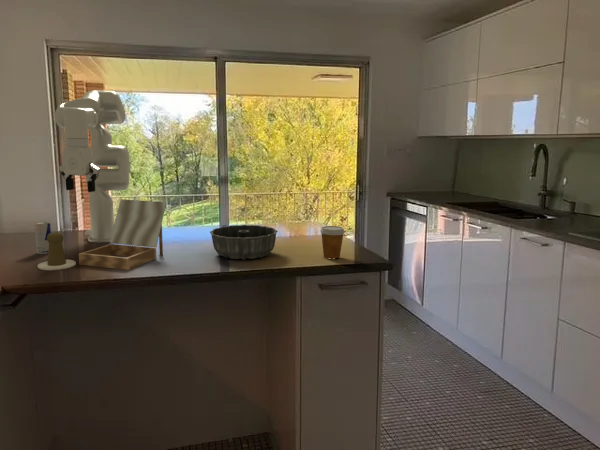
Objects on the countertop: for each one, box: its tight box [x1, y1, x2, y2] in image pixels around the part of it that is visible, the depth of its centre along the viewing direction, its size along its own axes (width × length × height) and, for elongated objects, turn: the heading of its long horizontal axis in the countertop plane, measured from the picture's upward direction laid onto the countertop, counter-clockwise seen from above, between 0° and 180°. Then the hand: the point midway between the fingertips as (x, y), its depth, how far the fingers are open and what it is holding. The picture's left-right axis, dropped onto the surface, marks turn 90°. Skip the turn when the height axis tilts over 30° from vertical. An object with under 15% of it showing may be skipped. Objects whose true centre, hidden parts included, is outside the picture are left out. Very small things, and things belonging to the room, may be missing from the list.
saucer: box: [37, 259, 76, 271], centre depth 171 cm, size 12×12×1 cm
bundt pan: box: [209, 224, 278, 261], centre depth 192 cm, size 26×26×10 cm
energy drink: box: [34, 221, 52, 255], centre depth 189 cm, size 5×5×12 cm
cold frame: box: [78, 198, 167, 271], centre depth 181 cm, size 20×25×21 cm
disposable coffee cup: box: [320, 225, 345, 260], centre depth 190 cm, size 10×10×12 cm
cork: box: [47, 232, 67, 266], centre depth 170 cm, size 6×6×11 cm
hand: (80, 190), depth 176 cm, fingers open, 9 cm apart
